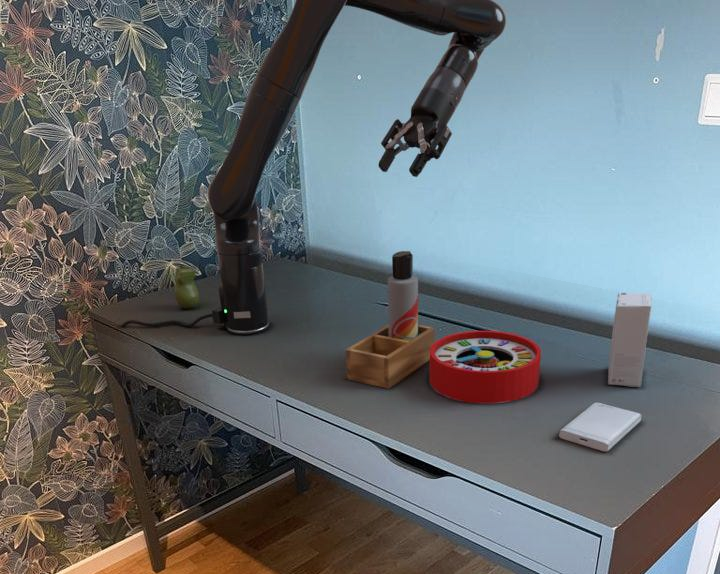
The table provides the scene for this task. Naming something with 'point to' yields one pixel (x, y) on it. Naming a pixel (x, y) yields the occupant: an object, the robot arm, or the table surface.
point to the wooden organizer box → (388, 357)
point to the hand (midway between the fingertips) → (396, 171)
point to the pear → (186, 288)
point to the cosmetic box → (629, 339)
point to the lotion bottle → (403, 298)
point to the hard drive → (600, 426)
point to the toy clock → (484, 366)
